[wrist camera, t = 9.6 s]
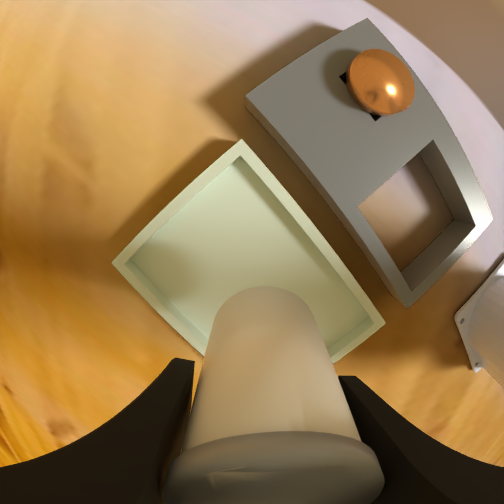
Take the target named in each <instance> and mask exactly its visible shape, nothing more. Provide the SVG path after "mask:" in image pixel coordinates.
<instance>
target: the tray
mask: <svg viewBox="0 0 504 504" xmlns="http://www.w3.org/2000/svg"><path fill="white" fill-rule="evenodd" d="M111 263H112V264H113V265H114V266H115V268H116V269H117V270H118V271H119V272H120V273H121V274H122V275H123V277H124V278H125V279H126V280H127V281H128V282H129V283H130V284H131V285H132V286H133V287H134V288H135V290H136V291H137V292H138V293H139V294H140V295H141V296H142V297H143V298H144V299H145V300H146V301H147V302H148V303H149V304H150V305H151V306H152V307H153V308H154V309H155V310H156V311H157V312H158V313H159V314H160V315H161V316H162V317H163V318H164V319H165V320H166V321H167V322H168V323H169V324H170V325H171V326H172V327H173V328H174V329H175V330H176V331H177V332H178V333H179V334H180V335H181V336H182V337H183V338H184V339H186V340H187V341H188V342H189V343H190V344H191V345H192V346H193V347H194V348H195V349H196V350H198V351H199V352H200V353H201V354H202V355H203V356H205V352H206V348H207V344H208V340H209V337H210V333H211V329H212V325H213V321H214V318H215V316H216V313H217V311H218V310H219V308H220V307H221V306H222V305H223V303H224V302H225V301H226V300H228V299H229V298H230V297H231V296H233V295H234V294H236V293H238V292H240V291H242V290H245V289H248V288H252V287H258V286H273V287H279V288H282V289H285V290H288V291H290V292H292V293H294V294H296V295H297V296H299V297H300V298H301V299H302V300H303V301H304V302H305V303H306V304H307V305H308V307H309V308H310V310H311V312H312V314H313V316H314V318H315V321H316V323H317V326H318V328H319V331H320V333H321V336H322V338H323V341H324V343H325V346H326V348H327V351H328V353H329V356H330V359H331V361H332V364H334V363H335V362H337V361H338V360H340V359H341V358H342V357H344V356H345V355H346V354H348V353H349V352H350V351H352V350H353V349H354V348H356V347H357V346H358V345H360V344H361V343H362V342H364V341H365V340H366V339H367V338H369V337H370V336H371V335H372V334H374V333H375V332H376V331H377V330H379V329H380V328H381V327H382V326H383V325H385V324H386V322H385V321H384V319H383V318H382V316H381V315H380V314H379V312H378V311H377V309H376V308H375V306H374V305H373V303H372V302H371V301H370V299H369V298H368V296H367V295H366V294H365V292H364V291H363V289H362V288H361V287H360V285H359V284H358V282H357V281H356V280H355V278H354V277H353V275H352V274H351V273H350V271H349V270H348V269H347V267H346V266H345V265H344V263H343V262H342V261H341V259H340V258H339V257H338V255H337V254H336V253H335V251H334V250H333V249H332V247H331V246H330V245H329V243H328V242H327V241H326V240H325V238H324V237H323V236H322V234H321V233H320V232H319V231H318V229H317V228H316V227H315V225H314V224H313V223H312V222H311V220H310V219H309V218H308V217H307V215H306V214H305V213H304V212H303V210H302V209H301V208H300V207H299V205H298V204H297V203H296V202H295V200H294V199H293V198H292V197H291V196H290V194H289V193H288V192H287V191H286V190H285V188H284V187H283V186H282V185H281V184H280V182H279V181H278V180H277V179H276V178H275V176H274V175H273V174H272V173H271V172H270V171H269V169H268V168H267V167H266V166H265V165H264V164H263V162H262V161H261V160H260V159H259V158H258V157H257V156H256V154H255V153H254V152H253V151H252V150H251V149H250V148H249V146H248V145H247V144H246V143H245V142H244V141H243V140H242V139H241V140H240V141H239V142H237V143H236V144H235V145H234V146H233V147H231V148H230V149H229V150H228V151H227V152H225V153H224V154H223V155H222V156H221V157H220V158H218V159H217V160H216V161H215V162H214V163H213V164H212V165H210V166H209V167H208V168H207V169H206V170H205V171H204V172H203V173H201V174H200V175H199V176H198V177H197V178H196V179H195V180H194V181H193V182H191V183H190V184H189V185H188V186H187V187H186V188H185V189H184V190H183V191H182V192H181V193H180V194H178V195H177V196H176V197H175V198H174V199H173V200H172V201H171V202H170V203H169V204H168V205H167V206H166V207H165V208H164V209H163V210H162V211H161V212H160V213H159V214H158V215H157V216H156V217H155V218H154V219H153V220H152V221H151V222H150V223H149V224H148V225H147V226H146V227H145V228H144V229H143V230H142V231H141V232H140V233H139V234H138V235H137V236H136V237H135V238H134V239H133V240H132V241H131V242H130V243H129V244H128V245H127V246H126V247H125V248H124V249H123V251H122V252H121V253H120V254H119V255H118V256H117V257H116V258H115V259H114V260H113V261H112V262H111Z"/></svg>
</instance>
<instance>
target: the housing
mask: <svg viewBox="0 0 504 504" xmlns="http://www.w3.org/2000/svg"><path fill="white" fill-rule="evenodd" d="M368 49H381V50H385V51H387V52H390V53H392V54H393V55H395V56H396V57H398V58H399V59H400V60H401V61H402V62H403V63H404V64H405V65H406V67H407V68H408V70H409V71H410V73H411V75H412V78H413V81H414V86H415V94H414V99H413V101H412V103H411V105H410V106H409V107H408V108H407V109H405V110H404V111H402V112H399V113H396V114H393V115H390V116H377V115H374V116H373V117H371V115H370V114H369V113H368V112H367V111H366V110H364V109H363V108H361V107H360V106H359V105H358V104H357V103H356V102H355V101H354V99H353V98H352V96H351V95H350V93H349V91H348V88H347V86H346V84H345V83H344V82H343V81H342V80H341V78H343V77H344V76H346V70H347V68H348V65H349V64H350V63H351V62H352V60H353V59H354V58H355V57H356V56H357V55H358V54H360V53H361V52H363V51H365V50H368ZM245 107H246V108H247V110H248V111H249V112H250V113H251V114H252V115H253V116H254V117H255V118H256V119H257V120H258V122H259V123H260V124H261V125H262V126H263V127H264V128H265V129H266V130H267V132H268V133H269V134H270V135H271V136H272V137H273V138H274V140H275V141H276V142H277V143H278V144H279V145H280V146H281V148H282V149H283V150H284V151H285V152H286V153H287V155H288V156H289V157H290V158H291V159H292V161H293V162H294V163H295V164H296V165H297V167H298V168H299V169H300V170H301V172H302V173H303V174H304V175H305V176H306V178H307V179H308V180H309V181H310V183H311V184H312V185H313V186H314V188H315V189H316V190H317V192H318V193H319V194H320V195H321V197H322V198H323V199H324V201H325V202H326V203H327V204H328V206H329V207H330V208H331V210H332V211H333V212H334V214H335V215H336V216H337V218H338V219H339V220H340V222H341V223H342V224H343V226H344V227H345V229H346V230H347V231H348V233H349V234H350V235H351V237H352V238H353V240H354V241H355V242H356V244H357V245H358V247H359V248H360V250H361V251H362V252H363V254H364V255H365V257H366V258H367V260H368V261H369V263H370V264H371V266H372V267H373V268H374V270H375V271H376V273H377V274H378V276H379V277H380V279H381V281H382V282H383V284H384V285H385V287H386V288H387V290H388V291H389V293H390V294H391V295H392V296H393V297H394V298H395V299H396V300H398V301H399V302H400V303H401V304H402V305H403V306H404V307H405V308H406V309H408V308H409V307H410V306H411V305H412V304H413V303H414V302H415V301H417V300H418V299H419V298H420V297H421V296H422V295H423V294H424V293H425V292H426V291H427V290H428V289H429V288H430V287H431V286H432V285H434V284H435V283H436V282H437V281H438V280H439V279H440V278H441V277H442V276H443V275H444V274H445V273H446V272H447V271H448V270H449V268H450V267H451V266H452V265H453V264H454V263H455V262H456V261H457V260H458V259H459V258H460V257H461V256H462V255H463V254H464V253H465V251H466V250H467V249H468V248H469V247H470V246H471V245H472V244H473V242H474V241H475V240H476V239H477V238H478V237H479V236H480V234H481V233H482V232H483V231H484V230H485V228H486V227H487V226H488V225H489V224H490V222H491V221H492V220H493V217H492V214H491V212H490V209H489V206H488V204H487V201H486V199H485V196H484V194H483V191H482V189H481V187H480V184H479V182H478V180H477V177H476V175H475V173H474V171H473V169H472V167H471V164H470V162H469V160H468V158H467V156H466V154H465V152H464V150H463V149H462V147H461V145H460V143H459V141H458V139H457V137H456V136H455V134H454V132H453V130H452V128H451V127H450V125H449V123H448V122H447V120H446V118H445V117H444V115H443V113H442V112H441V110H440V109H439V107H438V105H437V104H436V102H435V101H434V99H433V98H432V96H431V95H430V93H429V92H428V90H427V89H426V88H425V86H424V85H423V83H422V82H421V81H420V79H419V78H418V76H417V75H416V74H415V72H414V71H413V70H412V68H411V67H410V66H409V65H408V63H407V62H406V61H405V60H404V58H403V57H402V56H401V55H400V53H399V52H398V51H397V50H396V49H395V47H394V46H393V45H392V44H391V43H390V42H389V40H388V39H387V38H386V37H385V36H384V35H383V34H382V33H381V32H380V31H379V29H378V28H377V27H376V26H375V25H374V24H373V23H372V22H371V21H370V20H369V19H368V18H366V19H364V20H362V21H360V22H359V23H357V24H355V25H353V26H351V27H349V28H347V29H346V30H344V31H342V32H340V33H338V34H337V35H335V36H333V37H331V38H330V39H328V40H326V41H325V42H323V43H321V44H320V45H318V46H316V47H315V48H313V49H311V50H310V51H308V52H307V53H305V54H304V55H302V56H300V57H299V58H297V59H296V60H294V61H293V62H291V63H290V64H288V65H287V66H285V67H284V68H282V69H281V70H279V71H278V72H277V73H275V74H274V75H272V76H271V77H269V78H268V79H267V80H265V81H264V82H263V83H261V84H260V85H258V86H257V87H256V88H254V89H253V90H252V91H250V92H249V93H248V94H246V95H245ZM417 153H419V155H420V156H421V158H422V160H423V161H424V163H425V165H426V167H427V168H428V170H429V172H430V173H431V175H432V177H433V179H434V181H435V182H436V184H437V186H438V188H439V190H440V192H441V194H442V196H443V198H444V200H445V202H446V204H447V206H448V208H449V210H450V212H451V214H452V216H453V218H454V220H453V221H452V222H451V223H450V224H449V225H448V226H447V227H446V228H445V229H444V231H443V232H442V233H441V234H440V235H439V236H438V237H437V238H436V239H435V240H434V241H433V242H432V243H431V244H430V245H429V246H428V247H427V248H426V249H424V250H423V251H422V252H421V253H420V254H419V255H418V256H417V257H416V258H415V259H414V260H413V261H412V262H411V263H410V264H409V265H408V266H407V267H405V268H404V269H403V270H402V271H401V272H400V271H399V270H398V268H397V266H396V265H395V263H394V261H393V260H392V258H391V256H390V255H389V253H388V252H387V250H386V249H385V247H384V245H383V244H382V242H381V241H380V239H379V238H378V236H377V235H376V233H375V232H374V230H373V229H372V227H371V226H370V224H369V223H368V221H367V220H366V218H365V217H364V215H363V214H362V213H361V211H360V210H359V208H358V207H357V206H358V205H359V204H361V203H362V202H363V201H364V200H365V199H366V198H368V197H369V196H370V195H371V194H372V193H373V192H375V191H376V190H377V189H378V188H379V187H380V186H381V185H383V184H384V183H385V182H386V181H387V180H388V179H389V178H391V177H392V176H393V175H394V174H395V173H396V172H397V171H398V170H400V169H401V168H402V167H403V166H404V165H405V164H406V163H407V162H409V161H410V160H411V159H412V158H413V157H414V156H415V155H416V154H417Z"/></svg>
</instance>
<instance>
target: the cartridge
mask: <svg viewBox="0 0 504 504" xmlns="http://www.w3.org/2000/svg"><path fill="white" fill-rule="evenodd" d="M384 483H385V481H384V475H383V473H382V470H381V467H380V465H379V462H378V459H377V457H376V455H375V453H374V451H373V450H372V449H371V448H370V447H369V446H367V445H366V444H364V443H363V442H361V439H360V436H359V433H358V431H357V428H356V425H355V422H354V419H353V417H352V414H351V411H350V409H349V406H348V403H347V400H346V398H345V395H344V392H343V390H342V387H341V385H340V382H339V379H338V377H337V374H336V371H335V369H334V366H333V364H332V361H331V359H330V356H329V353H328V351H327V348H326V346H325V343H324V341H323V338H322V336H321V333H320V331H319V328H318V326H317V323H316V321H315V318H314V316H313V314H312V312H311V310H310V308H309V307H308V305H307V304H306V303H305V302H304V301H303V300H302V299H301V298H300V297H299V296H297V295H296V294H294V293H292V292H290V291H288V290H285V289H282V288H279V287H273V286H258V287H252V288H248V289H245V290H242V291H240V292H238V293H236V294H234V295H233V296H231V297H230V298H229V299H228V300H226V301H225V302H224V303H223V305H222V306H221V307H220V308H219V310H218V311H217V313H216V316H215V318H214V321H213V325H212V329H211V333H210V337H209V340H208V344H207V348H206V352H205V356H204V360H203V364H202V368H201V372H200V376H199V380H198V384H197V388H196V392H195V396H194V400H193V405H192V409H191V413H190V417H189V421H188V425H187V430H186V434H185V438H184V442H183V447H182V451H181V454H180V455H178V456H177V457H176V458H175V459H174V460H173V461H172V462H171V464H170V466H169V467H168V471H167V474H166V478H165V482H164V486H163V491H162V498H163V501H164V503H165V504H371V503H372V502H373V501H374V500H375V499H376V498H377V497H378V496H379V495H380V493H381V491H382V489H383V487H384Z"/></svg>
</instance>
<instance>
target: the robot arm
mask: <svg viewBox="0 0 504 504" xmlns="http://www.w3.org/2000/svg"><path fill="white" fill-rule="evenodd" d="M461 319H462V320H461ZM454 320H455V322H456V325H457V327H458V330H459V332H460V335H461V338H462V340H463V343H464V346H465V349H466V351H467V354H468V357H469V360H470V363H471V366H472V369H473V371H474V372H475V373H477V372H478V371H479V370H480V369H481V368H482V367H483V368H484V369H485V370H486V371H487V372H488V373H489V374H490V375H491V376H492V377H493V378H494V379H495V380H496V381H497V382H498V383H499V384H500V385H501V386H502V387H503V388H504V259H503V260H502V262H501V263H500V264H499V265H498V267H497V268H496V269H495V270H494V271H493V273H492V274H491V275H490V276H489V277H488V279H487V280H486V281H485V282H484V283H483V284H482V286H481V287H480V288H479V289H478V290H477V291H476V292H475V293H474V295H473V296H472V297H471V298H470V299H469V300H468V301H467V302H466V303H465V304H464V305H463V306H462V307H461V308H460V309H459V310H458V311H457V313H456V314H455V317H454ZM194 363H195V361H191V360H185V359H180V358H174V359H172V360H171V362H170V363H169V364H168V365H167V367H166V368H165V369H164V370H163V371H162V373H161V374H160V375H159V376H158V377H157V378H156V379H155V380H154V381H153V382H152V383H151V384H150V385H149V386H148V387H147V388H146V389H145V390H144V391H143V392H142V393H141V394H140V395H139V396H138V397H137V398H136V399H135V400H134V401H132V402H131V403H130V404H129V405H128V406H126V407H125V408H124V409H123V410H122V411H121V412H119V413H118V414H117V415H115V416H114V417H113V418H111V419H110V420H109V421H107V422H106V423H104V424H103V425H101V426H100V427H98V428H97V429H95V430H94V431H92V432H90V433H89V434H87V435H85V436H84V437H82V438H80V439H78V440H76V441H75V442H73V443H71V444H69V445H67V446H65V447H62V448H60V449H58V450H55V451H53V452H50V453H48V454H45V455H43V456H40V457H38V458H35V459H32V460H29V461H25V462H21V463H17V464H13V465H9V466H4V467H0V504H165V503H164V501H163V498H162V491H163V486H164V482H165V478H166V474H167V471H168V467H169V466H170V464H171V462H172V461H173V460H174V459H175V458H176V457H177V456H178V455H180V453H181V449H182V446H183V442H184V438H185V434H186V430H187V425H188V421H189V416H190V410H191V402H192V388H193V375H194ZM338 379H339V382H340V385H341V387H342V390H343V392H344V395H345V398H346V400H347V403H348V406H349V409H350V411H351V414H352V417H353V419H354V422H355V425H356V428H357V431H358V433H359V436H360V439H361V442H363V443H364V444H366V445H367V446H369V447H370V448H371V449H372V450H373V451H374V453H375V455H376V457H377V459H378V462H379V465H380V467H381V470H382V473H383V475H384V481H385V483H384V487H383V489H382V491H381V493H380V495H379V496H378V497H377V498H376V499H375V500H374V501H373V502H372V503H371V504H504V467H499V466H495V465H491V464H488V463H485V462H482V461H479V460H476V459H473V458H470V457H468V456H466V455H464V454H461V453H459V452H457V451H455V450H453V449H451V448H449V447H447V446H445V445H443V444H442V443H440V442H438V441H437V440H435V439H433V438H432V437H430V436H428V435H427V434H425V433H424V432H422V431H421V430H420V429H418V428H417V427H416V426H414V425H413V424H412V423H410V422H409V421H408V420H406V419H405V418H404V417H403V416H401V415H400V414H399V413H398V412H396V411H395V410H394V409H393V408H392V407H391V406H389V405H388V404H387V403H386V402H385V401H384V400H383V399H381V398H380V397H379V396H378V395H377V394H376V393H375V392H374V391H372V390H371V389H370V388H369V387H368V386H367V385H366V384H365V383H363V382H362V381H361V380H360V379H358V378H357V377H356V376H339V377H338Z"/></svg>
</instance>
